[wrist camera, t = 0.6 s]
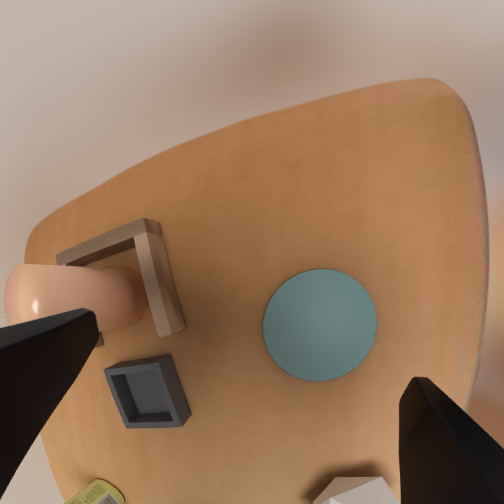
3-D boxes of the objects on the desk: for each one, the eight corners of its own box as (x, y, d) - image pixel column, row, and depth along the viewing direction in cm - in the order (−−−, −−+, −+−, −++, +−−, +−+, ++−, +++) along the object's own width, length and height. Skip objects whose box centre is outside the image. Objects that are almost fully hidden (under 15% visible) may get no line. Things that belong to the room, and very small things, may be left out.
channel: (186, 327, 24) (172, 334, 21) (95, 345, 25) (77, 352, 22) (159, 223, 24) (143, 217, 22) (75, 256, 26) (55, 254, 23)
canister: (117, 331, 24) (21, 358, 13) (96, 283, 25) (-3, 286, 13) (157, 309, 24) (60, 332, 12) (133, 258, 25) (32, 248, 13)
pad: (295, 396, 22) (295, 399, 21) (243, 303, 23) (242, 304, 22) (391, 343, 21) (393, 345, 21) (343, 248, 22) (344, 247, 22)
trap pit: (191, 414, 23) (182, 426, 21) (138, 417, 24) (126, 428, 21) (170, 354, 24) (158, 362, 21) (117, 362, 24) (103, 369, 22)
